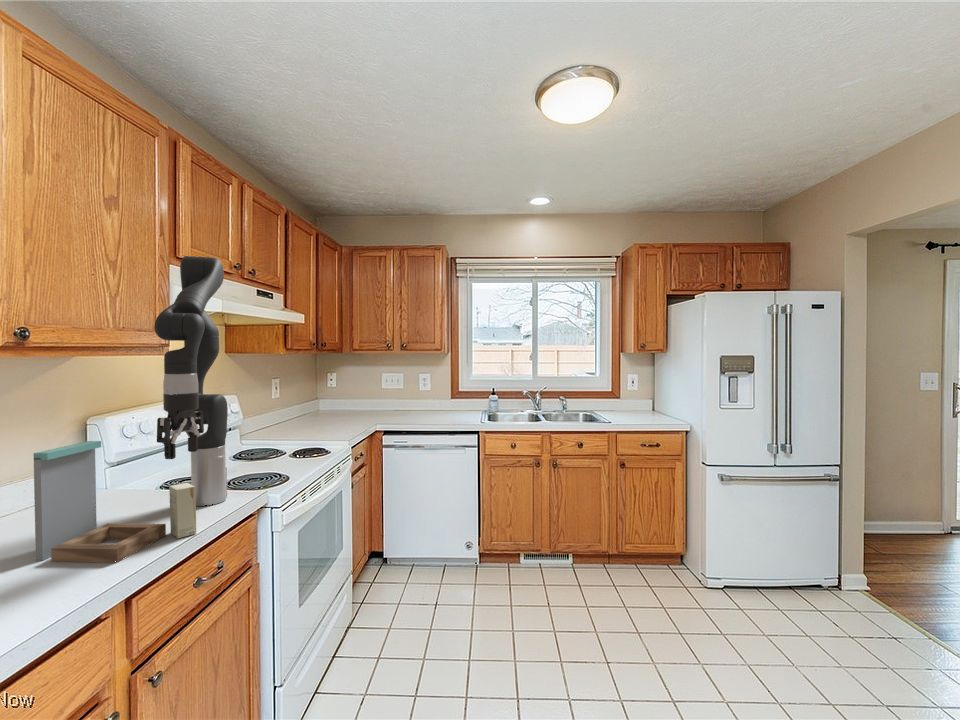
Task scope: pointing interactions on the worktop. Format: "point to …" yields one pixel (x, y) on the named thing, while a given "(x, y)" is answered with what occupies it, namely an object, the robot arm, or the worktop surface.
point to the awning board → (64, 495)
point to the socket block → (93, 551)
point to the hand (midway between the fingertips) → (181, 455)
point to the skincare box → (182, 510)
